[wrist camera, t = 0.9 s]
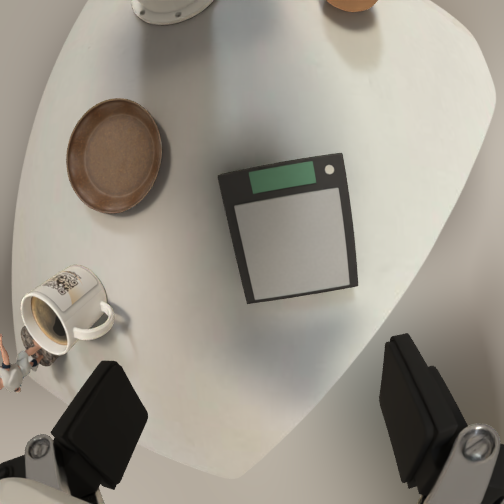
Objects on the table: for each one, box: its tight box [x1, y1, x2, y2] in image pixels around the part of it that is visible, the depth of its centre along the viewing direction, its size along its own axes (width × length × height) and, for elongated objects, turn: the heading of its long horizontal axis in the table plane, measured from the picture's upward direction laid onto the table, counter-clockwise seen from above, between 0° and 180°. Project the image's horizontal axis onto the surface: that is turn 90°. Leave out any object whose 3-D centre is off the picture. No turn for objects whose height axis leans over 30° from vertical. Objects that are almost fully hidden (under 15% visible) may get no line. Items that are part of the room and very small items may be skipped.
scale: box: [218, 153, 358, 304], centre depth 34 cm, size 16×14×3 cm
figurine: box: [0, 326, 60, 393], centre depth 38 cm, size 15×9×18 cm, turn 165°
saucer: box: [66, 98, 162, 214], centre depth 33 cm, size 15×15×3 cm
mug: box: [21, 265, 114, 355], centre depth 36 cm, size 10×12×11 cm
